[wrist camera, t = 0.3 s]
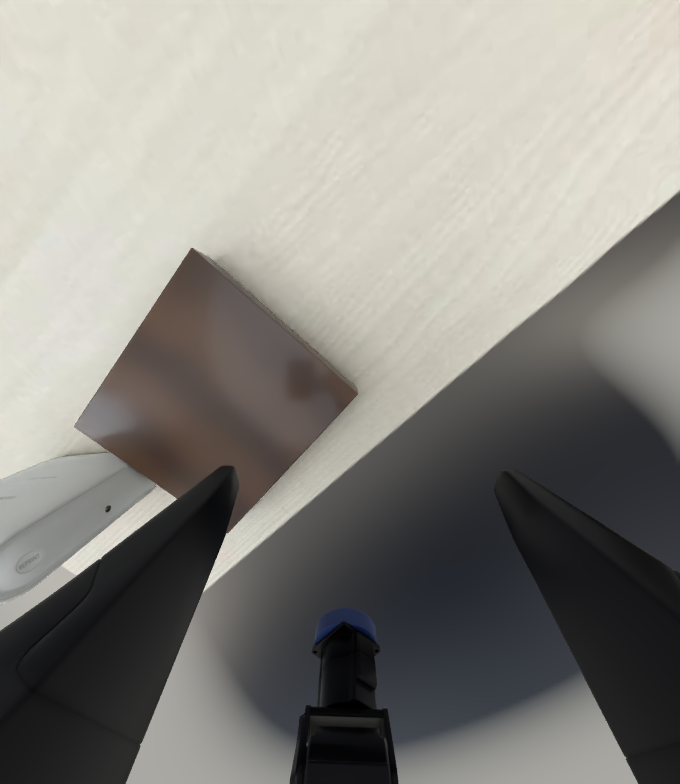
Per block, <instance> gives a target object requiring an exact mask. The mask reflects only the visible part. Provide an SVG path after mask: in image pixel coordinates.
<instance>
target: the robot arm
mask: <svg viewBox="0 0 680 784" xmlns="http://www.w3.org/2000/svg"><path fill="white" fill-rule="evenodd" d="M238 491H239V479H238V475H237V472H236V468H235V467H234V466H227V465H223V466H220V467H219V468H218V469H216V470H215V471H214V472H212V473H211V474H210V475H208V476H207V477H206V478H204V479H203V480H202V481H201V482H199V483H198V484H197V485H195V486H194V487H193V488H191V489H190V490H189V491H187V492H186V493H185V494H184V495H182V496H181V497H180V498H178V499H177V500H176V501H174V502H173V503H172V504H170V505H169V506H168V507H167V508H165V509H164V510H163V511H161V512H160V513H159V514H157V515H156V516H155V517H153V518H152V519H151V520H150V521H148V522H147V523H146V524H144V525H143V526H142V527H140V528H139V529H138V530H136V531H135V532H134V533H133V534H131V535H130V536H129V537H127V538H126V539H125V540H123V541H122V542H121V543H119V544H118V545H117V546H115V547H114V548H113V549H112V550H110V551H109V552H108V553H106V554H105V555H104V556H103V557H102V558H101V559H99V560H97V561H96V562H94V563H93V564H92V565H90V566H89V567H88V568H87V569H85V570H84V571H83V572H81V573H80V574H79V575H77V576H76V577H75V578H73V579H72V580H71V581H69V582H68V583H67V584H65V585H64V586H63V587H61V588H60V589H58V590H57V591H56V592H54V593H53V594H52V595H50V596H49V597H48V598H46V599H45V600H43V601H42V602H40V603H39V604H38V605H36V606H35V607H34V608H32V609H31V610H29V611H28V612H26V613H25V614H24V615H22V616H21V617H19V618H18V619H16V620H15V621H14V622H12V623H11V624H9V625H8V626H6V627H5V628H4V629H2V630H1V631H0V784H126V781H127V779H128V776H129V774H130V771H131V769H132V766H133V764H134V761H135V759H136V756H137V754H138V751H139V749H140V744H141V743H142V741H143V739H144V736H145V733H146V731H147V729H148V726H149V724H150V721H151V719H152V716H153V714H154V711H155V709H156V706H157V704H158V701H159V699H160V696H161V694H162V691H163V689H164V687H165V684H166V682H167V679H168V677H169V674H170V672H171V669H172V666H173V664H174V662H175V659H176V657H177V654H178V652H179V649H180V647H181V644H182V642H183V640H184V637H185V635H186V632H187V629H188V627H189V625H190V622H191V619H192V617H193V615H194V612H195V610H196V607H197V605H198V602H199V600H200V597H201V595H202V592H203V590H204V588H205V585H206V583H207V580H208V578H209V575H210V573H211V570H212V568H213V565H214V563H215V560H216V558H217V555H218V553H219V550H220V548H221V545H222V543H223V540H224V538H225V535H226V532H227V529H228V525H229V522H230V518H231V515H232V512H233V508H234V505H235V501H236V498H237V494H238ZM494 491H495V495H496V497H497V500H498V502H499V505H500V507H501V510H502V512H503V515H504V517H505V520H506V522H507V525H508V527H509V530H510V532H511V534H512V537H513V539H514V541H515V543H516V545H517V548H518V549H519V552H520V553H521V555H522V557H523V559H524V561H525V563H526V565H527V567H528V569H529V571H530V573H531V575H532V577H533V579H534V581H535V583H536V585H537V587H538V589H539V590H540V592H541V594H542V596H543V598H544V600H545V602H546V604H547V606H548V608H549V610H550V612H551V614H552V616H553V618H554V620H555V622H556V624H557V625H558V628H559V629H560V631H561V633H562V635H563V637H564V639H565V641H566V643H567V645H568V647H569V649H570V651H571V653H572V655H573V657H574V659H575V661H576V663H577V665H578V666H579V668H580V670H581V672H582V674H583V676H584V678H585V680H586V682H587V684H588V686H589V688H590V690H591V692H592V694H593V696H594V698H595V700H596V702H597V703H598V705H599V707H600V709H601V711H602V713H603V715H604V717H605V719H606V721H607V723H608V725H609V727H610V729H611V731H612V732H613V735H614V736H615V739H616V741H617V743H618V744H619V746H620V748H621V750H622V752H623V754H624V756H625V757H626V760H627V763H628V765H629V766H630V768H631V770H632V772H633V774H634V776H635V778H636V780H637V782H638V784H680V573H679V572H678V571H675V570H672V568H671V567H670V566H668V565H666V564H665V563H663V562H662V561H660V560H659V559H657V558H655V557H654V556H652V555H651V554H649V553H647V552H646V551H644V550H643V549H641V548H639V547H638V546H636V545H635V544H633V543H632V542H630V541H628V540H627V539H625V538H624V537H622V536H620V535H619V534H617V533H615V532H614V531H613V530H611V529H609V528H608V527H606V526H605V525H603V524H601V523H599V522H598V521H597V520H595V519H594V518H592V517H590V516H589V515H587V514H585V513H584V512H582V511H580V510H579V509H578V508H576V507H574V506H573V505H571V504H570V503H568V502H567V501H565V500H563V499H562V498H560V497H559V496H557V495H555V494H554V493H552V492H550V491H549V490H547V489H546V488H544V487H543V486H541V485H540V484H538V483H536V482H535V481H533V480H532V479H530V478H528V477H527V476H525V475H524V474H522V473H520V472H519V471H517V470H502V471H501V473H500V475H499V477H498V479H497V482H496V484H495V486H494ZM378 653H380V645H379V644H377V643H376V642H374V641H373V640H371V639H370V638H369V637H367V636H366V635H364V634H363V633H361V632H360V631H358V630H357V629H356V628H354V627H353V626H351V625H350V624H348V623H347V622H341V623H340V624H339V625H338V626H336V627H335V628H334V629H333V630H331V631H330V632H329V633H328V634H327V635H325V636H324V637H323V638H322V639H321V640H319V641H318V642H317V643H316V644H315V645H313V646H312V654H313V655H315V656H317V657H318V658H320V673H319V686H318V700H317V707H312V706H311V705H306V709H305V713H304V714H303V715H301V716H300V719H299V727H298V736H297V744H296V749H295V755H294V760H293V766H292V771H291V777H290V784H398V775H397V768H396V760H395V754H394V747H393V741H392V734H391V728H390V723H389V716H388V709H387V708H382V709H377V703H376V692H375V690H376V689H377V679H376V668H375V658H374V656H375V655H377V654H378Z"/></svg>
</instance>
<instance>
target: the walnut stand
mask: <svg viewBox="0 0 680 784" xmlns="http://www.w3.org/2000/svg"><path fill="white" fill-rule="evenodd" d="M357 395H358V391H357V387H356V386H355V385H353V384H352V383H351V382H350V381H349V380H348V379H347V378H346V377H344V376H343V375H342V374H341V373H340V372H339V371H338V370H336V369H335V368H334V367H333V366H332V365H331V364H330V363H329V362H327V361H326V360H325V359H324V358H323V357H322V356H321V355H319V354H318V353H317V352H316V351H315V350H314V349H313V348H312V347H310V346H309V345H308V344H307V343H306V342H305V341H304V340H302V339H301V338H300V337H299V336H298V335H297V334H296V333H294V332H293V331H292V330H291V329H290V328H289V327H288V326H287V325H285V324H284V323H283V322H282V321H281V320H280V319H279V318H277V317H276V316H275V315H274V314H273V313H272V312H271V311H270V310H268V309H267V308H266V307H265V306H264V305H263V304H262V303H260V302H259V301H258V300H257V299H256V298H255V297H254V296H253V295H251V294H250V293H249V292H248V291H247V290H246V289H245V288H243V287H242V286H241V285H240V284H239V283H238V282H237V281H236V280H234V279H233V278H232V277H231V276H230V275H229V274H228V273H226V272H225V271H224V270H223V269H222V268H221V267H220V266H218V265H217V264H216V263H215V262H214V261H213V260H212V259H211V258H209V257H208V256H206V255H204V254H202V253H201V252H199V251H197V250H195V249H193V248H191V249H190V251H189V252H188V254H187V255H186V257H185V258H184V260H183V261H182V263H181V265H180V266H179V268H178V269H177V271H176V272H175V274H174V275H173V277H172V278H171V280H170V281H169V283H168V284H167V286H166V287H165V289H164V290H163V292H162V293H161V295H160V296H159V298H158V299H157V301H156V302H155V304H154V305H153V307H152V309H151V310H150V312H149V313H148V315H147V316H146V318H145V319H144V321H143V322H142V324H141V325H140V327H139V328H138V330H137V331H136V333H135V334H134V336H133V337H132V339H131V340H130V342H129V343H128V345H127V346H126V348H125V350H124V351H123V353H122V354H121V356H120V357H119V359H118V360H117V362H116V363H115V365H114V366H113V368H112V369H111V371H110V372H109V374H108V375H107V377H106V378H105V380H104V381H103V383H102V384H101V386H100V387H99V389H98V390H97V392H96V394H95V395H94V397H93V398H92V400H91V401H90V403H89V404H88V406H87V407H86V409H85V410H84V412H83V413H82V415H81V416H80V418H79V419H78V421H77V422H76V424H75V425H74V427H75V428H76V429H78V430H79V431H81V432H82V433H84V434H85V435H87V436H88V437H89V438H91V439H92V440H94V441H95V442H97V443H98V444H99V445H101V446H102V447H104V448H105V449H107V450H108V451H110V452H111V453H112V454H114V455H115V456H117V457H118V458H120V459H121V460H122V461H124V462H125V463H127V464H128V465H130V466H131V467H133V468H134V469H135V470H137V471H138V472H140V473H141V474H143V475H144V476H145V477H147V478H148V479H150V480H151V481H153V482H154V483H156V484H157V485H158V486H160V487H161V488H163V489H164V490H166V491H167V492H168V493H170V494H171V495H173V496H174V497H176V498H177V499H178V498H180V497H181V496H182V495H184V494H185V493H186V492H187V491H189V490H190V489H191V488H193V487H194V486H195V485H197V484H198V483H199V482H201V481H202V480H203V479H204V478H206V477H207V476H208V475H210V474H211V473H212V472H214V471H215V470H216V469H218V468H219V467H220V466H223V465H227V466H234V467H235V468H236V472H237V475H238V479H239V491H238V494H237V498H236V501H235V505H234V508H233V512H232V515H231V518H230V522H229V525H228V529H227V532H226V533H229V532H230V531H231V529H232V528H233V527H234V526H235V525H236V524H237V523H238V522H239V521H240V520H241V519H242V518H243V517H244V516H245V514H246V513H247V512H248V511H249V510H250V509H251V508H252V507H253V506H254V505H255V504H256V503H257V502H258V501H259V500H260V498H261V497H262V496H263V495H264V494H265V493H266V492H267V491H268V490H269V489H270V488H271V487H272V486H273V485H274V483H275V482H276V481H277V480H278V479H279V478H280V477H281V476H282V475H283V474H284V473H285V472H286V471H287V470H288V469H289V467H290V466H291V465H292V464H293V463H294V462H295V461H296V460H297V459H298V458H299V457H300V456H301V455H302V454H303V452H304V451H305V450H306V449H307V448H308V447H309V446H310V445H311V444H312V443H313V442H314V441H315V440H316V439H317V438H318V436H319V435H320V434H321V433H322V432H323V431H324V430H325V429H326V428H327V427H328V426H329V425H330V424H331V423H332V421H333V420H334V419H335V418H336V417H337V416H338V415H339V414H340V413H341V412H342V411H343V410H344V409H345V408H346V407H347V405H348V404H349V403H350V402H351V401H352V400H353V399H354V398H355V397H356V396H357Z"/></svg>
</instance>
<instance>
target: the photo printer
mask: <svg viewBox="0 0 680 784" xmlns="http://www.w3.org/2000/svg"><path fill="white" fill-rule="evenodd" d="M154 488H155V483H154V482H153V481H151V480H150V479H148V478H147V477H145V476H144V475H143V474H141V473H140V472H138V471H137V470H135V469H134V468H133V467H131V466H130V465H128V464H127V463H125V462H124V461H122V460H121V459H120V458H118V457H117V456H115V455H114V454H112V453H98V454H86V455H76V456H66V457H60V458H55V459H51V460H48V461H45V462H42V463H39V464H37V465H34V466H32V467H29V468H27V469H25V470H22V471H20V472H18V473H15V474H13V475H10V476H8V477H6V478H3V479H1V480H0V605H1V604H3V603H6V602H8V601H11V600H13V599H15V598H17V597H19V596H21V595H23V594H24V593H26V592H28V591H29V590H31V589H32V588H33V587H35V586H36V585H37V584H39V583H40V582H41V581H42V580H44V579H45V578H46V577H47V576H48V575H50V574H51V573H52V572H53V571H54V570H56V569H57V568H58V567H59V566H61V565H62V564H63V563H64V562H65V561H67V560H68V559H69V558H70V557H72V556H73V555H74V554H75V553H76V552H78V551H79V550H80V549H81V548H82V547H84V546H85V545H86V544H87V543H89V542H90V541H91V540H92V539H93V538H95V537H96V536H97V535H98V534H100V533H101V532H102V531H103V530H104V529H106V528H107V527H108V526H109V525H111V524H112V523H113V522H114V521H115V520H117V519H118V518H119V517H120V516H121V515H123V514H124V513H125V512H126V511H128V510H129V509H130V508H131V507H132V506H134V505H135V504H136V503H138V502H139V501H140V500H141V499H142V498H144V497H145V496H146V495H147V494H149V493H150V492H151V491H152V490H153V489H154Z"/></svg>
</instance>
